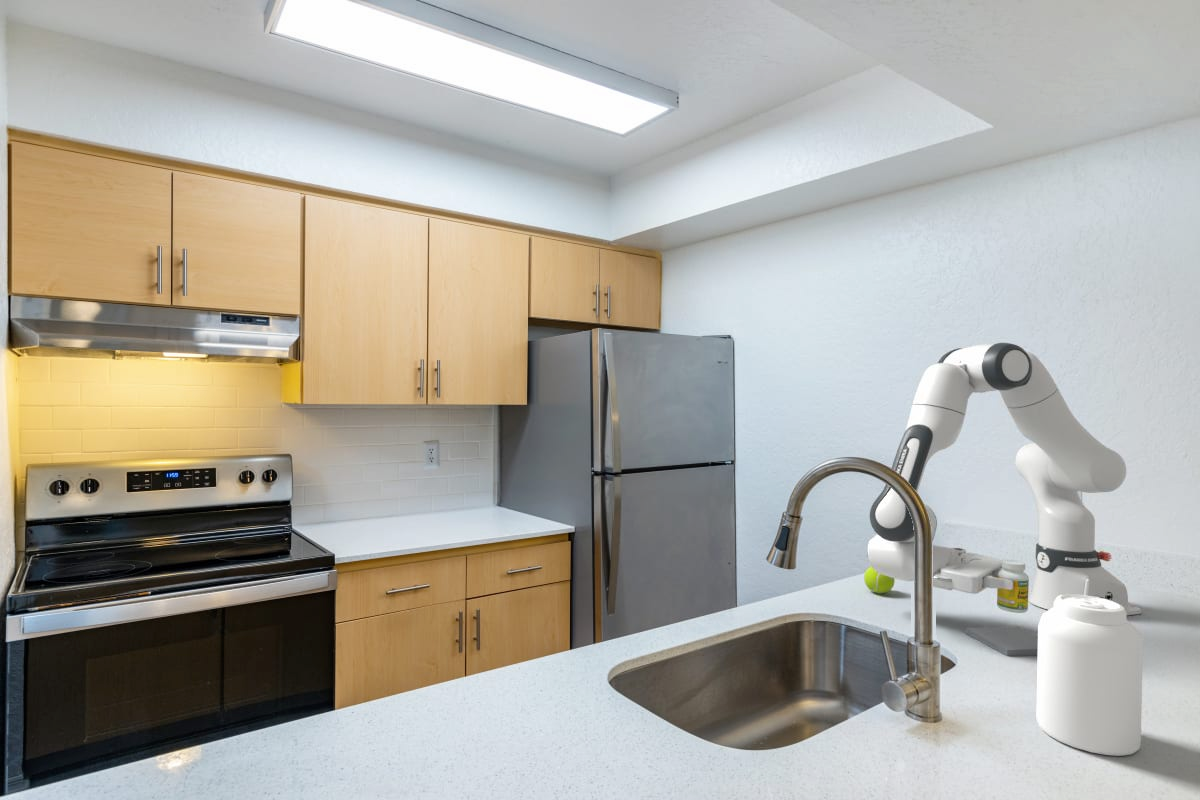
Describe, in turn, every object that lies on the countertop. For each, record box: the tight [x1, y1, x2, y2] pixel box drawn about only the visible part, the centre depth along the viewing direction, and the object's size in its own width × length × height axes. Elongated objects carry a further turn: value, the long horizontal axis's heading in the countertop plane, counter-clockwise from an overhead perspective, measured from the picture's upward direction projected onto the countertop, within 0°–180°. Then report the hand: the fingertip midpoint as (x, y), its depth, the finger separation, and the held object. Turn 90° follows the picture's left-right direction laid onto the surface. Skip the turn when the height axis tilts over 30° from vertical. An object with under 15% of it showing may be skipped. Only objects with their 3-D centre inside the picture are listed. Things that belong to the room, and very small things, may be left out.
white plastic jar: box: [1035, 594, 1144, 757], centre depth 99 cm, size 12×12×20 cm
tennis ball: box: [863, 566, 895, 595], centre depth 169 cm, size 7×7×7 cm
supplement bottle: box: [996, 559, 1030, 614], centre depth 136 cm, size 5×5×10 cm
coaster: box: [965, 625, 1038, 657], centre depth 136 cm, size 12×12×1 cm
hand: (1018, 582), depth 135 cm, fingers closed on supplement bottle, 5 cm apart
